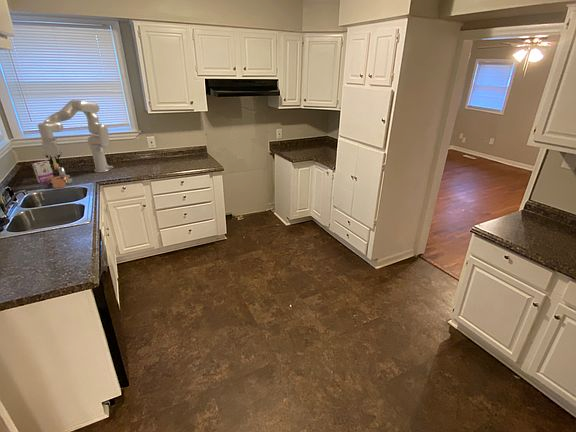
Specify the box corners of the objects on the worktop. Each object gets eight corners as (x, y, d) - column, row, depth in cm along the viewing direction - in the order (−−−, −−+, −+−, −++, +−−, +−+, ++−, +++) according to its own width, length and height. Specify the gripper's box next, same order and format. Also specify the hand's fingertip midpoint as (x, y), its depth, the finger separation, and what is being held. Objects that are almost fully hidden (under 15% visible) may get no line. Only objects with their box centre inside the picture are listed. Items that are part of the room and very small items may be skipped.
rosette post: (73, 179, 264) (69, 165, 259) (67, 187, 248) (62, 172, 243) (59, 180, 261) (55, 166, 256) (52, 188, 245) (47, 173, 240)
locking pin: (60, 168, 248) (56, 156, 244) (59, 169, 246) (55, 157, 241) (55, 168, 247) (51, 156, 243) (54, 169, 245) (50, 157, 240)
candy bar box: (52, 179, 264) (46, 160, 257) (55, 180, 262) (49, 161, 255) (37, 182, 256) (31, 163, 249) (40, 183, 253) (34, 164, 246)
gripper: (62, 138, 243) (68, 161, 250) (37, 139, 237) (44, 163, 245) (59, 140, 236) (66, 164, 244) (33, 141, 231) (41, 165, 239)
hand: (55, 163), depth 245 cm, fingers closed on locking pin, 3 cm apart
